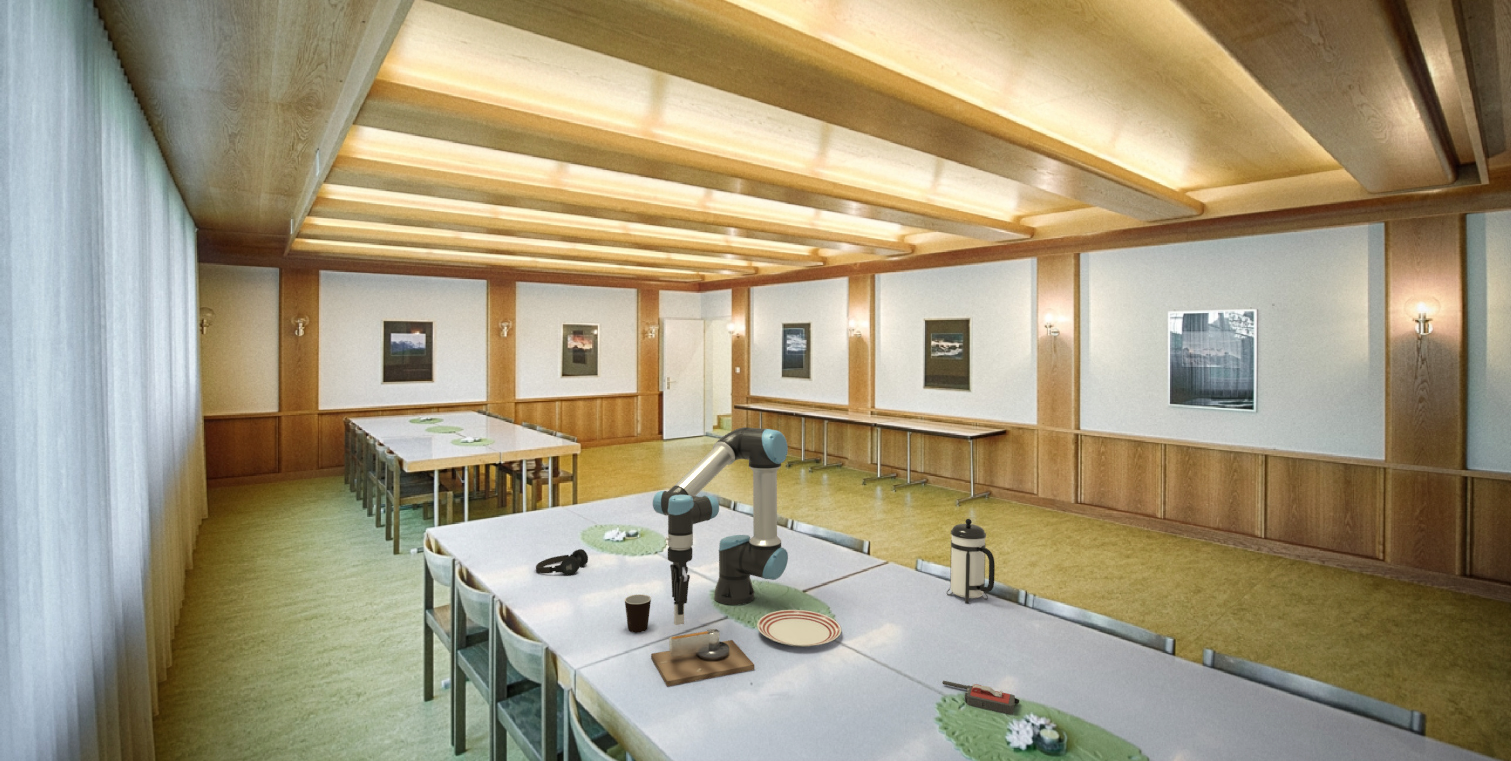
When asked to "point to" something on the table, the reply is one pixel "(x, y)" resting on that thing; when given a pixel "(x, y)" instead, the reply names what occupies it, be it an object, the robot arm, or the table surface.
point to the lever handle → (699, 645)
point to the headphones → (564, 563)
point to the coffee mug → (637, 612)
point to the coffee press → (969, 562)
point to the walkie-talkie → (987, 698)
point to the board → (700, 665)
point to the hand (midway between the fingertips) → (679, 623)
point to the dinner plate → (799, 628)
